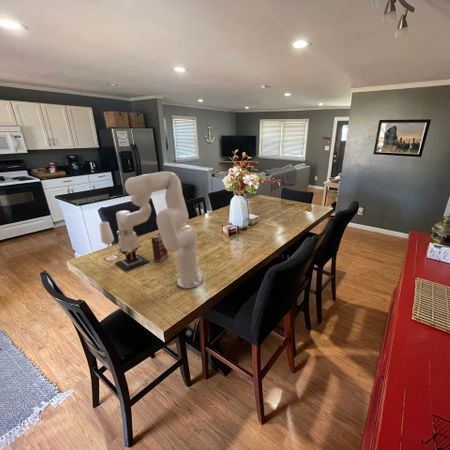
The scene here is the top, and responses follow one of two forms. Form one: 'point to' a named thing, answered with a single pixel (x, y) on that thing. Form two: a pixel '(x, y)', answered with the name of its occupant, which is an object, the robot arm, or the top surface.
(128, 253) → the stud pad
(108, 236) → the champagne flute
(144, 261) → the base pad
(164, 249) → the supplement box
